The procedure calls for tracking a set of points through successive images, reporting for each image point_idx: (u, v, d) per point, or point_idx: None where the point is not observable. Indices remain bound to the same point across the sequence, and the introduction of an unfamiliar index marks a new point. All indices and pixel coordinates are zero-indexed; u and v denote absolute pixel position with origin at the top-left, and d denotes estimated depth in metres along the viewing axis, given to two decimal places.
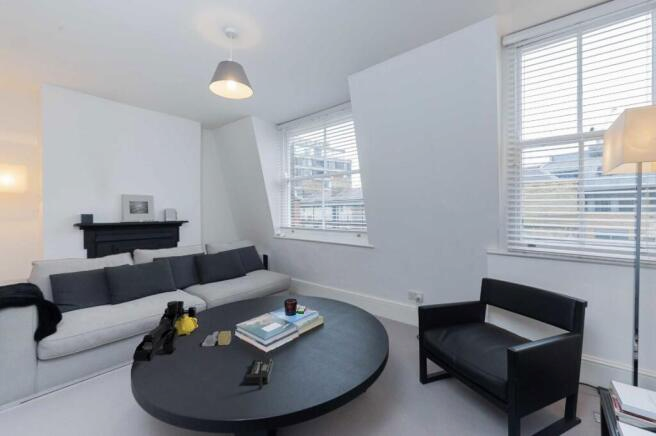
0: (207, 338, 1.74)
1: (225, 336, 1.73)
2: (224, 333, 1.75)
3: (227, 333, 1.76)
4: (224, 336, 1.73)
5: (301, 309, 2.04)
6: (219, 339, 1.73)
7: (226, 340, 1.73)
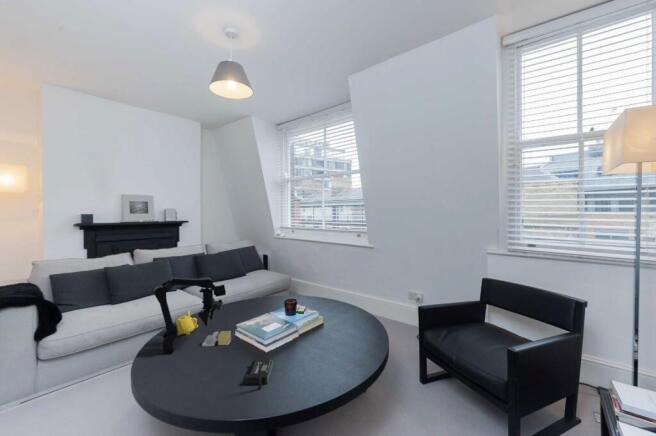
0: (207, 338, 1.74)
1: (225, 336, 1.73)
2: (224, 333, 1.75)
3: (227, 333, 1.76)
4: (224, 336, 1.73)
5: (301, 309, 2.04)
6: (219, 339, 1.73)
7: (226, 340, 1.73)
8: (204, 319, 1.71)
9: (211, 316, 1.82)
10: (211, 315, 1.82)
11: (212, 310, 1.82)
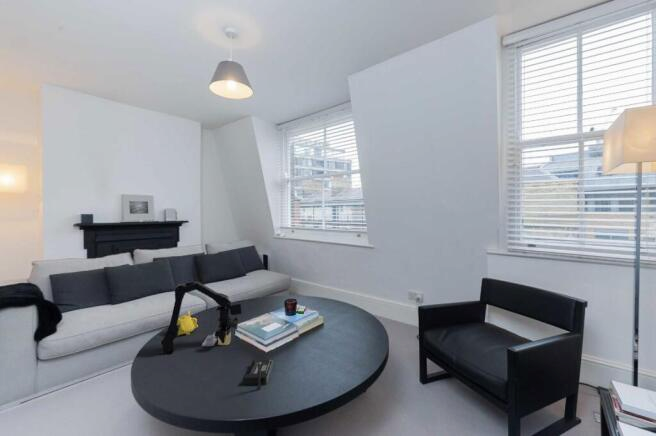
0: (207, 338, 1.74)
1: (225, 336, 1.73)
2: None
3: (227, 333, 1.76)
4: None
5: (301, 309, 2.04)
6: (219, 339, 1.73)
7: (226, 340, 1.73)
8: (221, 337, 1.72)
9: None
10: None
11: (227, 329, 1.80)
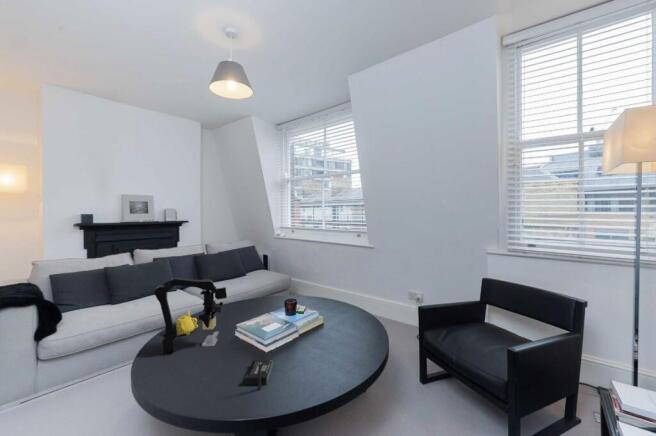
0: (207, 338, 1.74)
1: None
2: None
3: (212, 317, 1.74)
4: None
5: (301, 309, 2.04)
6: (203, 323, 1.72)
7: (210, 324, 1.72)
8: (205, 321, 1.70)
9: None
10: None
11: (212, 313, 1.78)
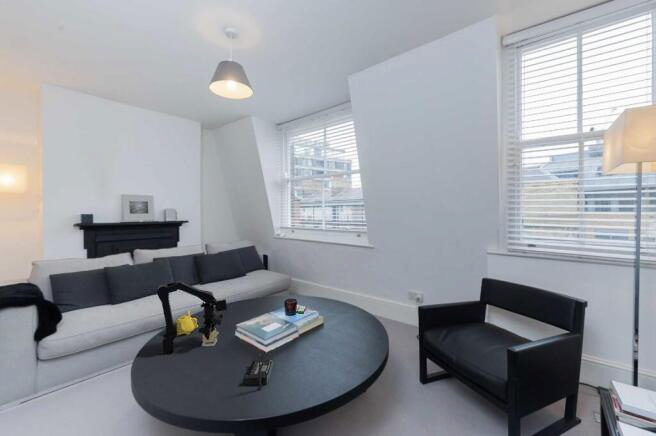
0: None
1: (210, 333, 1.72)
2: None
3: (212, 330, 1.75)
4: None
5: (301, 309, 2.04)
6: (204, 336, 1.72)
7: (211, 337, 1.73)
8: (206, 333, 1.71)
9: None
10: None
11: (212, 325, 1.79)
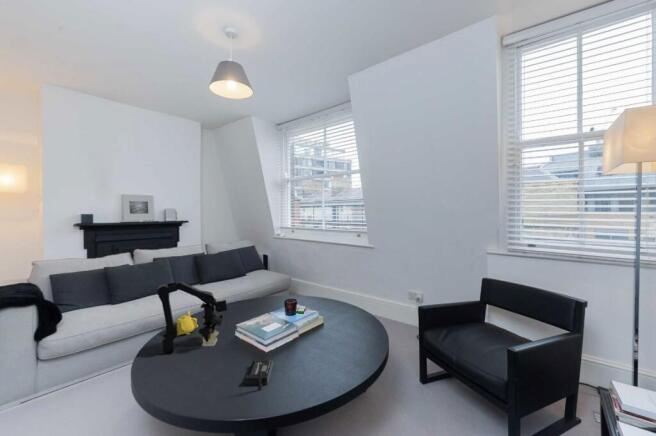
0: None
1: (210, 335, 1.72)
2: None
3: (212, 331, 1.75)
4: (209, 335, 1.72)
5: (301, 309, 2.04)
6: None
7: (211, 339, 1.73)
8: (205, 335, 1.69)
9: None
10: None
11: (213, 325, 1.80)
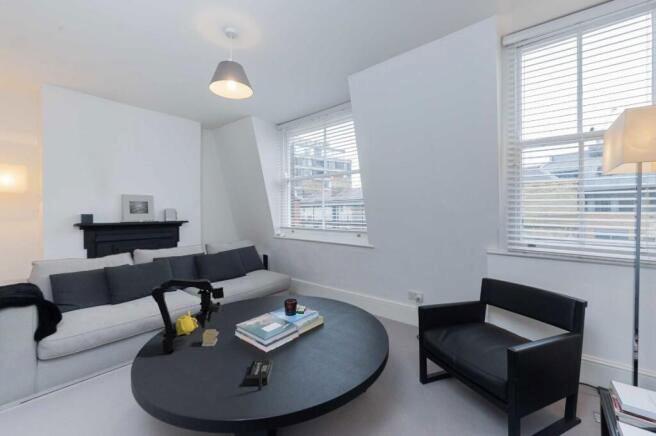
0: None
1: (210, 335, 1.72)
2: (209, 332, 1.74)
3: (212, 332, 1.75)
4: (209, 335, 1.72)
5: (301, 309, 2.04)
6: (204, 338, 1.72)
7: (211, 339, 1.73)
8: (201, 321, 1.68)
9: (209, 318, 1.79)
10: (209, 317, 1.79)
11: (210, 312, 1.79)
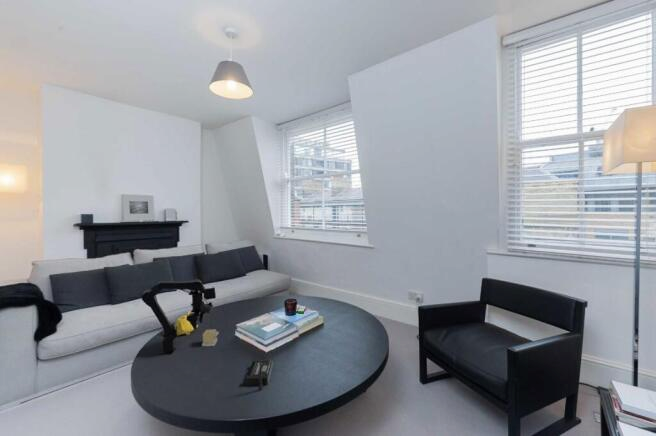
0: None
1: (210, 335, 1.72)
2: (209, 332, 1.74)
3: (212, 332, 1.75)
4: (209, 335, 1.72)
5: (301, 309, 2.04)
6: (204, 338, 1.72)
7: (211, 339, 1.72)
8: (193, 322, 1.67)
9: (201, 319, 1.77)
10: (201, 318, 1.77)
11: (202, 313, 1.77)
